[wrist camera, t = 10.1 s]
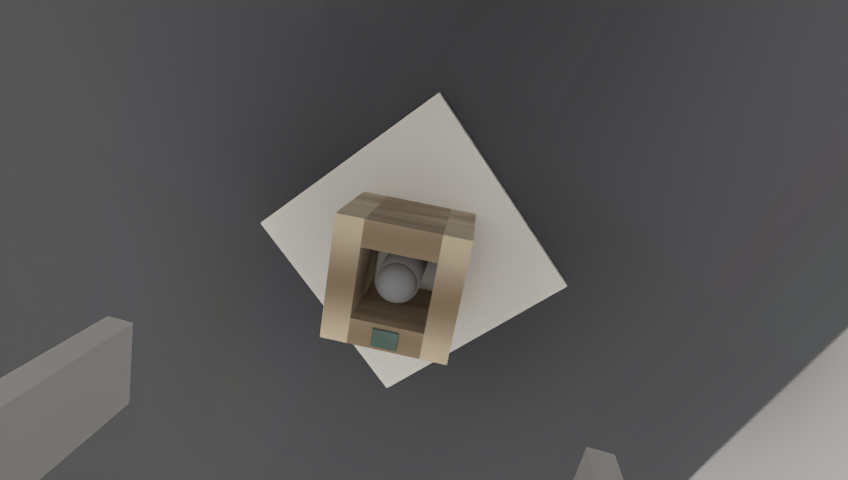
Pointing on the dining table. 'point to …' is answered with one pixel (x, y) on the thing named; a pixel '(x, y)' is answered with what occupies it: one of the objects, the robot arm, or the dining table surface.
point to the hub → (435, 185)
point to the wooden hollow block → (407, 236)
